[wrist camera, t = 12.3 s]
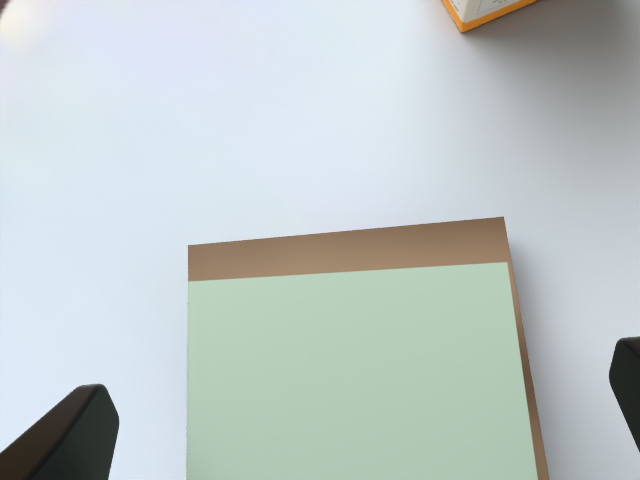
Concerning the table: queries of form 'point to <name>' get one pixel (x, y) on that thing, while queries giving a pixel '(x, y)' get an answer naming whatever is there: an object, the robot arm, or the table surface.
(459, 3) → the supplement box
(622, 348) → the robot arm
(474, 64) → the table surface
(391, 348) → the sage block
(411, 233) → the walnut block
